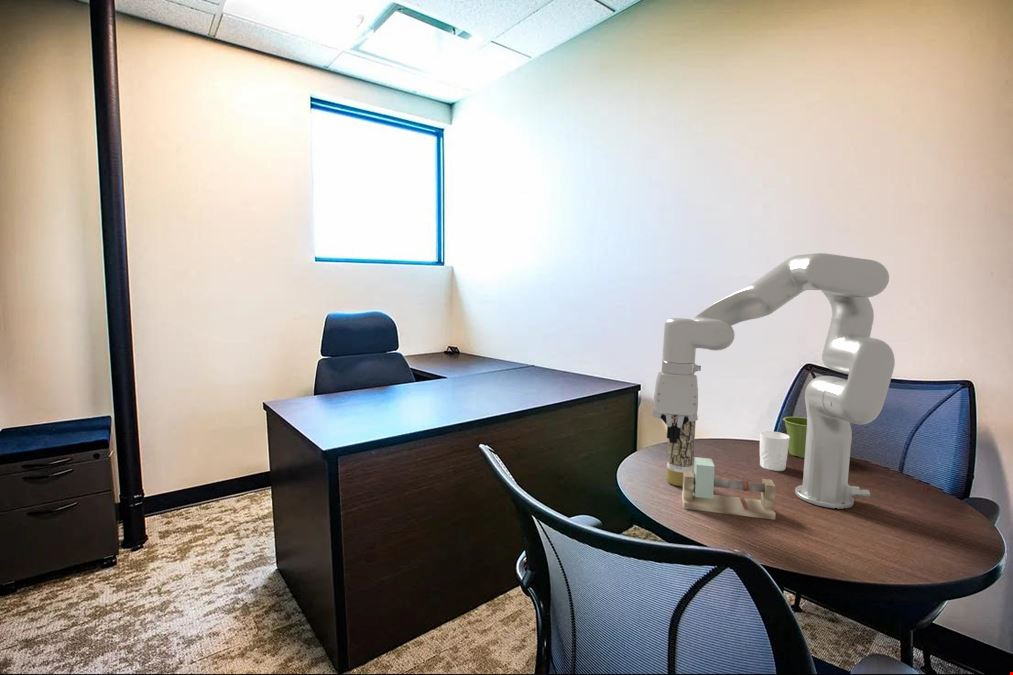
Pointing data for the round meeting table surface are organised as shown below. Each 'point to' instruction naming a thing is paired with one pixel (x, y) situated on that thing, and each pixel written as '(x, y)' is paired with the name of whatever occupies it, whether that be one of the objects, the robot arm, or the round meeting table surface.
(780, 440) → the white cup
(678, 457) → the paper tube
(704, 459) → the collar
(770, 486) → the rod stand
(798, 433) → the plant pot
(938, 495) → the round meeting table surface
